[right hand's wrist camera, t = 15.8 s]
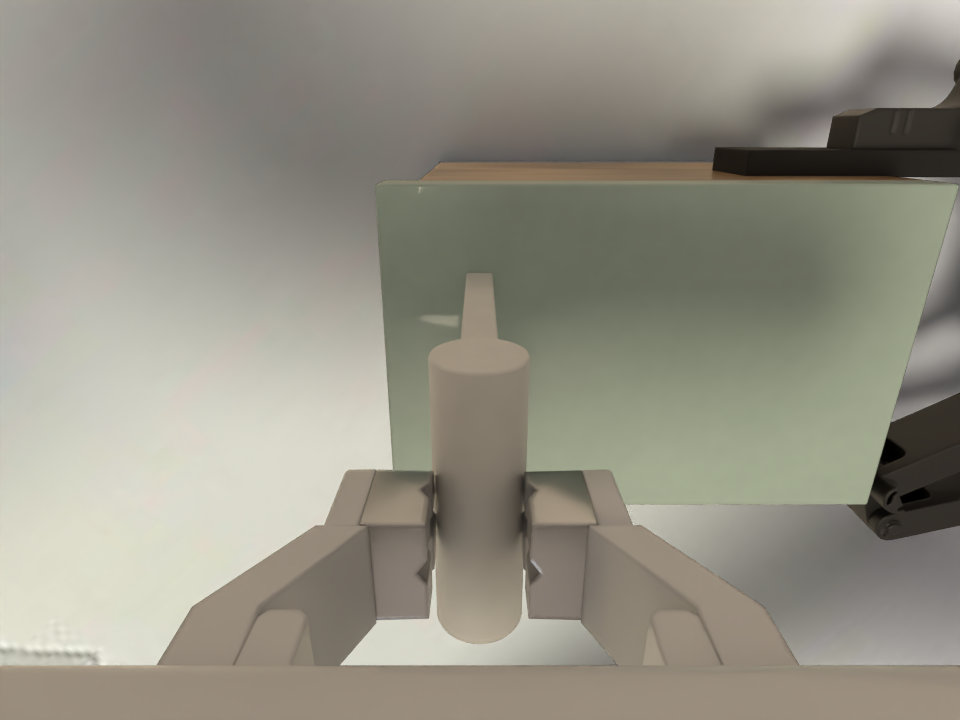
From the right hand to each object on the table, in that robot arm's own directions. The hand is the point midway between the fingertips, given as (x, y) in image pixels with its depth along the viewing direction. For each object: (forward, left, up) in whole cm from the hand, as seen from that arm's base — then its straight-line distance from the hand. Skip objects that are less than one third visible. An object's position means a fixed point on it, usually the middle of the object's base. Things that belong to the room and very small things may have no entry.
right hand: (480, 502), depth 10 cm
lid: (+3, +4, -8) cm, 9 cm away
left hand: (+5, +6, -11) cm, 13 cm away
